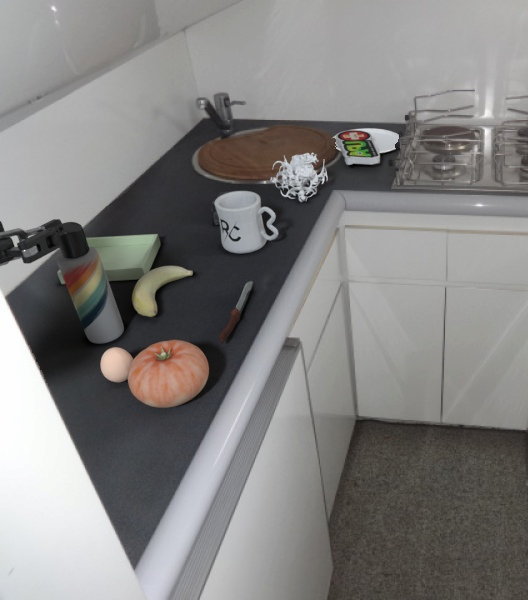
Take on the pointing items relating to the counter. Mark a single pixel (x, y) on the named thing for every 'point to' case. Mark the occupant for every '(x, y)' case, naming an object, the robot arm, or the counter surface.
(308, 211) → the counter surface
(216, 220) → the reflex sight
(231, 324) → the knife
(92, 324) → the lotion bottle
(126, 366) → the egg
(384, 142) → the plate
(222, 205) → the mug
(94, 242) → the green tray
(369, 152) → the sign
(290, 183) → the figurine
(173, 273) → the fruit
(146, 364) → the tomato
